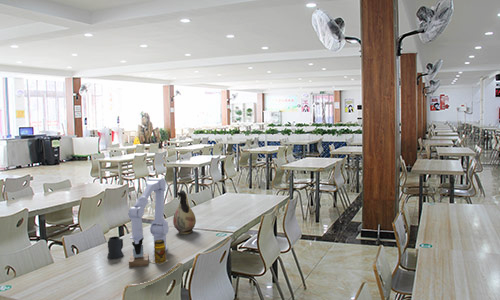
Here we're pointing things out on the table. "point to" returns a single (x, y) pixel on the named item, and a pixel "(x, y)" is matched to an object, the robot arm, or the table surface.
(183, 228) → the ceramic jug
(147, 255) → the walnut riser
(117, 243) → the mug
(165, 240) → the robot arm
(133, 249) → the blue cube
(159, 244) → the condiment
